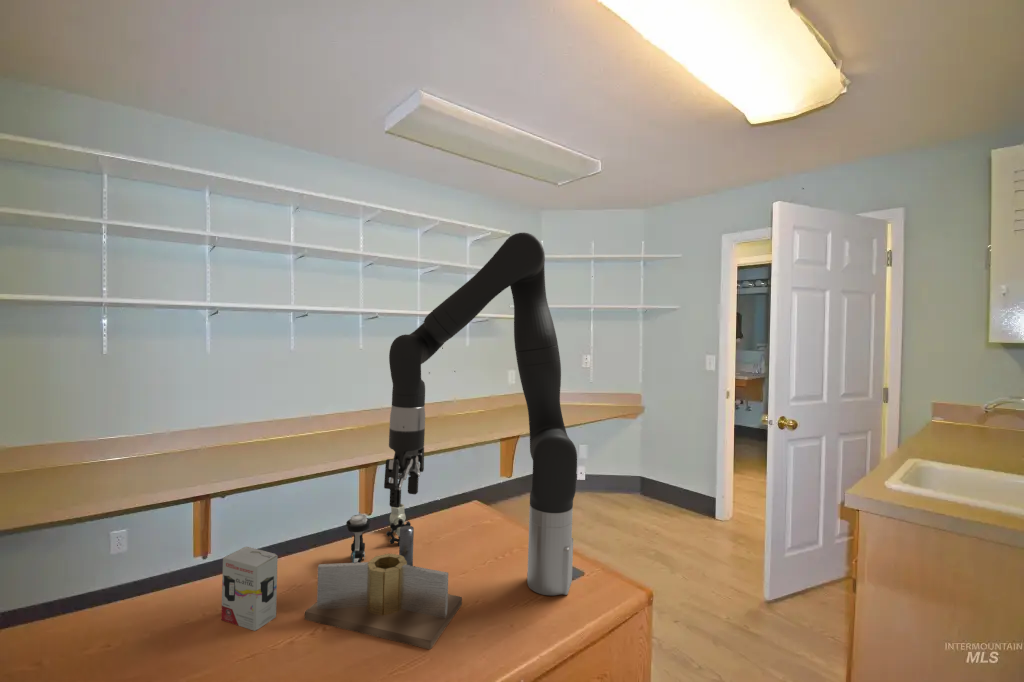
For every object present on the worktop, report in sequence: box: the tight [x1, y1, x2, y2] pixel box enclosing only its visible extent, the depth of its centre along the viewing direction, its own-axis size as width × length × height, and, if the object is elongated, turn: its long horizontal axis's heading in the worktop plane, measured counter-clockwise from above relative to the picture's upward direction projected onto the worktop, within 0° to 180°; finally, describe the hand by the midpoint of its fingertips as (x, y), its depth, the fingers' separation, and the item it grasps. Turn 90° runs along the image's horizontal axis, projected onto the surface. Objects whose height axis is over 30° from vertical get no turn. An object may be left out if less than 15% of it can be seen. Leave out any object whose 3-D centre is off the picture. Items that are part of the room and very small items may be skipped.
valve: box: [385, 503, 412, 547], centre depth 124 cm, size 7×7×12 cm
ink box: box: [220, 546, 279, 632], centre depth 88 cm, size 9×5×12 cm, turn 70°
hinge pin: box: [398, 525, 415, 566], centre depth 106 cm, size 3×3×10 cm
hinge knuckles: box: [316, 553, 449, 618], centre depth 90 cm, size 24×9×8 cm, turn 74°
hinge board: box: [304, 593, 463, 650], centre depth 91 cm, size 26×14×2 cm, turn 74°
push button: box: [345, 514, 372, 563], centre depth 110 cm, size 7×5×10 cm
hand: (404, 499), depth 104 cm, fingers open, 8 cm apart
